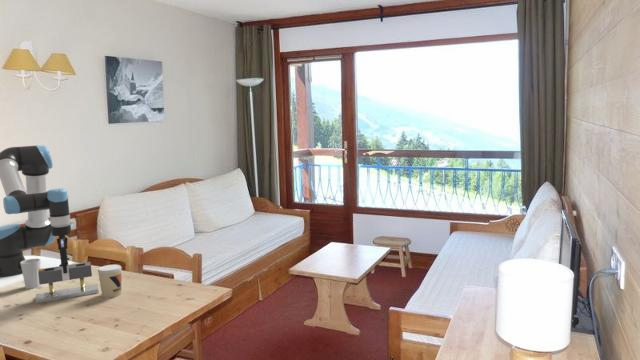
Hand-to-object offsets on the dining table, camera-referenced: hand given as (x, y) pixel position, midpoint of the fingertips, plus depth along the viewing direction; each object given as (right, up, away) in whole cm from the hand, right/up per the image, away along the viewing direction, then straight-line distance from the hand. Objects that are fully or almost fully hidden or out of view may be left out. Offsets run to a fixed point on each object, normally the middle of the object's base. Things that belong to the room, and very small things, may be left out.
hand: (66, 277), depth 219 cm
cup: (-22, -7, +14) cm, 27 cm away
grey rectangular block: (0, 0, 0) cm, 0 cm away
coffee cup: (+20, -7, 0) cm, 21 cm away
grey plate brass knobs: (0, -8, +1) cm, 8 cm away
